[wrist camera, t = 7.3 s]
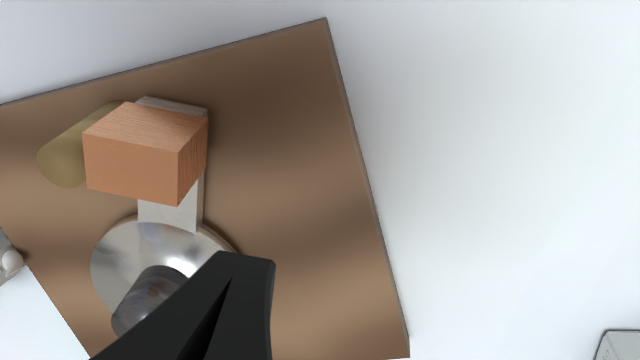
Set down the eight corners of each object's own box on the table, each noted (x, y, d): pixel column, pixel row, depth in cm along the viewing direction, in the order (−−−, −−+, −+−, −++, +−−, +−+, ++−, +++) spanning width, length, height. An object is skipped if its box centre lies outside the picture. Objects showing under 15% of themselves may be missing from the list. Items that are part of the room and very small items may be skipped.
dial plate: (242, 344, 23) (219, 411, 20) (104, 315, 24) (61, 376, 20) (269, 121, 17) (242, 165, 14) (83, 83, 18) (18, 119, 14)
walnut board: (-45, 116, 21) (-165, 171, 16) (326, 17, 17) (303, 54, 12) (119, 366, 28) (67, 454, 23) (409, 338, 24) (414, 436, 19)
